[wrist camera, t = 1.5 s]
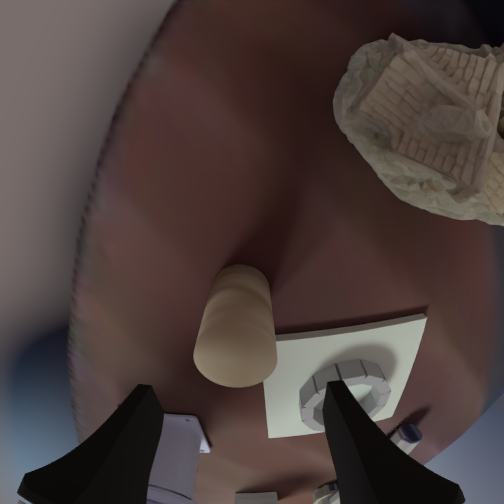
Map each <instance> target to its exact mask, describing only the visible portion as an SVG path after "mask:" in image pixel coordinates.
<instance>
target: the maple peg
mask: <svg viewBox="0 0 504 504" xmlns="http://www.w3.org/2000/svg"><path fill="white" fill-rule="evenodd" d="M277 360H278V357H277V348H276V339H275V330H274V321H273V313H272V304H271V296H270V288H269V283H268V281H267V279H266V277H265V276H264V275H263V273H262V272H260V271H259V270H258V269H256V268H254V267H252V266H249V265H244V264H236V265H231V266H228V267H226V268H224V269H222V270H221V271H220V272H219V273H218V274H217V275H216V276H215V278H214V280H213V283H212V286H211V289H210V293H209V297H208V300H207V304H206V308H205V311H204V315H203V319H202V322H201V326H200V330H199V334H198V337H197V341H196V345H195V349H194V362H195V364H196V366H197V368H198V370H199V371H200V372H201V373H202V374H203V375H204V376H205V377H206V378H208V379H209V380H211V381H213V382H215V383H217V384H220V385H223V386H227V387H248V386H252V385H256V384H258V383H260V382H262V381H264V380H265V379H267V378H268V377H269V376H270V375H271V374H272V373H273V372H274V370H275V368H276V366H277Z"/></svg>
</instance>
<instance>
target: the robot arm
mask: <svg viewBox="0 0 504 504" xmlns="http://www.w3.org/2000/svg"><path fill="white" fill-rule="evenodd" d="M322 413H323V421H324V428H325V433H326V437H327V441H328V445H329V448H330V452H331V456H332V460H333V464H334V467H335V471H336V476H337V481H338V489H339V498H340V504H463V503H464V502H465V498H464V495H463V492H462V490H461V489H460V487H459V485H458V484H456V483H454V482H452V481H450V480H447V479H445V478H443V477H441V476H440V475H438V474H436V473H434V472H432V471H431V470H429V469H427V468H426V467H424V466H423V465H421V464H420V463H419V462H417V461H416V460H414V459H413V458H411V457H410V456H409V455H408V454H406V453H405V452H404V451H403V450H401V449H400V448H399V447H398V446H397V445H396V444H395V443H394V442H392V441H391V440H390V439H389V438H388V437H387V436H386V435H385V434H384V432H383V431H382V430H381V429H380V428H379V427H378V426H377V425H376V424H375V423H374V421H373V420H372V419H371V418H370V417H369V415H368V414H367V413H366V412H365V410H364V409H363V408H362V407H361V405H360V404H359V403H358V401H357V400H356V398H355V397H354V396H353V394H352V393H351V391H350V390H349V388H348V387H347V385H346V384H345V382H344V381H343V380H336V381H329V382H327V386H326V392H325V397H324V403H323V408H322ZM210 451H211V449H210V446H209V444H208V442H207V440H206V437H205V435H204V433H203V430H202V428H201V426H200V423H199V421H198V418H197V417H196V416H192V415H175V414H164V411H163V409H162V407H161V405H160V403H159V401H158V399H157V397H156V395H155V392H154V390H153V388H152V386H151V385H143V384H138V385H137V386H136V388H135V389H134V390H133V391H132V392H131V393H130V394H129V396H128V397H127V398H126V399H125V400H124V401H123V403H122V404H121V405H120V406H119V407H118V408H117V409H116V410H115V412H114V413H113V414H112V415H111V416H110V417H109V418H108V419H107V420H106V421H105V422H104V423H103V424H102V425H101V426H100V427H99V428H98V429H97V430H96V431H95V432H94V433H93V434H92V435H91V436H90V437H89V438H88V439H86V440H85V441H84V442H83V443H81V444H80V445H79V446H78V447H76V448H75V449H73V450H72V451H71V452H69V453H68V454H66V455H65V456H63V457H61V458H59V459H58V460H56V461H54V462H52V463H50V464H48V465H46V466H44V467H42V468H39V469H37V470H34V471H31V472H29V473H26V474H25V475H24V477H23V479H22V482H21V484H20V486H19V489H18V491H17V493H18V494H19V495H20V496H21V497H23V498H24V499H26V500H27V501H29V502H31V503H32V504H198V502H196V501H193V498H194V491H195V483H196V476H197V468H198V461H199V454H200V452H205V453H209V452H210ZM18 504H26V503H24V502H22V501H21V500H19V501H18Z"/></svg>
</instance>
